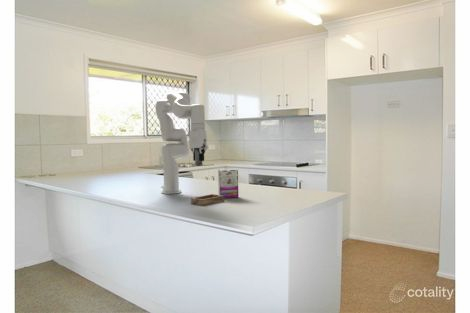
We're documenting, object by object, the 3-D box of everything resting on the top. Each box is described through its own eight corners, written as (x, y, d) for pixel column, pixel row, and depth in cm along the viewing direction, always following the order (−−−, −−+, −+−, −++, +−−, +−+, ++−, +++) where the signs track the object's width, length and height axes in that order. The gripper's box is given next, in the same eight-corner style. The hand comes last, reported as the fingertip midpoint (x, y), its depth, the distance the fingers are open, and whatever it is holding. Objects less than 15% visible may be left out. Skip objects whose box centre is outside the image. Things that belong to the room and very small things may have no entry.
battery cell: (193, 164, 187) (193, 147, 187) (199, 164, 190) (198, 147, 190) (198, 165, 184) (198, 147, 184) (204, 164, 187) (203, 147, 187)
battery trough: (191, 203, 184) (191, 198, 183) (212, 199, 196) (212, 194, 196) (202, 205, 178) (202, 200, 178) (224, 200, 190) (224, 195, 190)
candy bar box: (236, 196, 205) (236, 169, 204) (238, 197, 200) (238, 169, 199) (218, 197, 202) (217, 169, 201) (220, 198, 197) (219, 170, 196)
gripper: (182, 127, 189) (183, 160, 190) (203, 126, 178) (204, 161, 179) (192, 128, 195) (193, 160, 195) (213, 126, 184) (214, 160, 184)
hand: (198, 160), depth 187 cm, fingers closed on battery cell, 4 cm apart
